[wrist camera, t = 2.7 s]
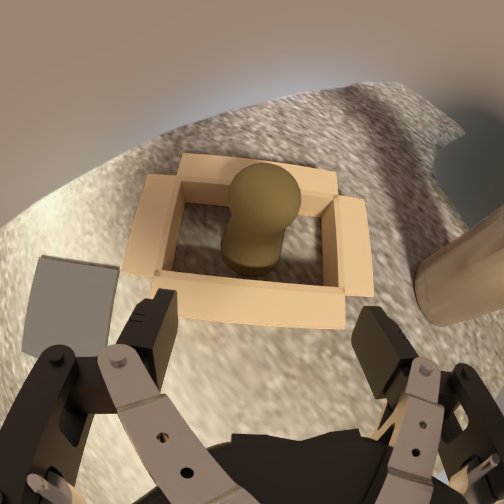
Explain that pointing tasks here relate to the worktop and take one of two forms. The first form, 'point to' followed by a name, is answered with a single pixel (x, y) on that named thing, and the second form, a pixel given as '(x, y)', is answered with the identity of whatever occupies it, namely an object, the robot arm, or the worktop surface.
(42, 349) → the mat
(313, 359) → the worktop surface
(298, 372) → the worktop surface
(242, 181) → the cork
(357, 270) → the carton
